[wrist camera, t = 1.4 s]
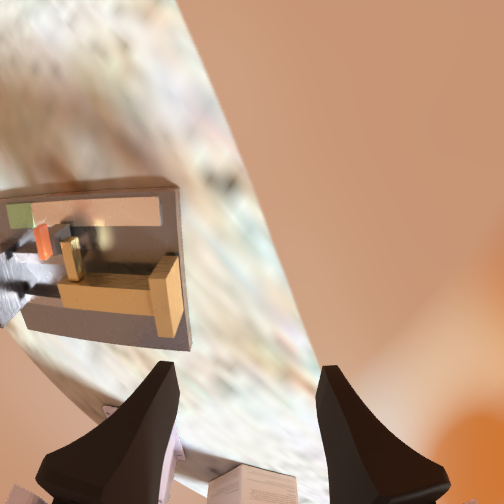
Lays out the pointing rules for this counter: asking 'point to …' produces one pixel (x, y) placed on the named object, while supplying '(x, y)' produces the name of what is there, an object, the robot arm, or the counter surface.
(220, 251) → the counter surface
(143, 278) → the wooden u-shaped cradle
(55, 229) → the orange and grey block
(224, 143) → the counter surface
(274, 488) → the supplement box
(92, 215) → the gauge base
